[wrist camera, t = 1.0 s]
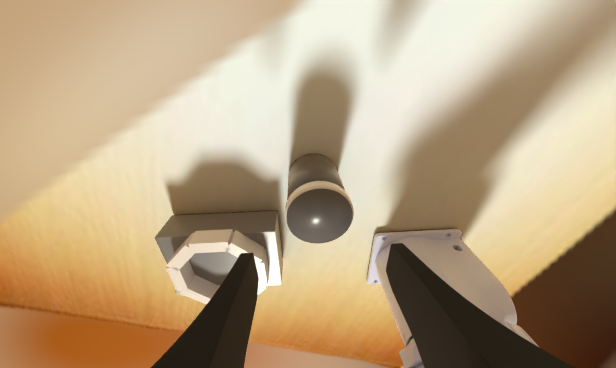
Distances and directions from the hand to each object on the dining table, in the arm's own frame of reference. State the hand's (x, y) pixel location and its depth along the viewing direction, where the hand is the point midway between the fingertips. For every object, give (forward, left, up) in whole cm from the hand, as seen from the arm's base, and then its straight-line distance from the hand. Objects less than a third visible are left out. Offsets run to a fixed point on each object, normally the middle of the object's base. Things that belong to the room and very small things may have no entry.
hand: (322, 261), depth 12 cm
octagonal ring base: (+8, +7, -9) cm, 14 cm away
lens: (0, 0, -9) cm, 9 cm away
